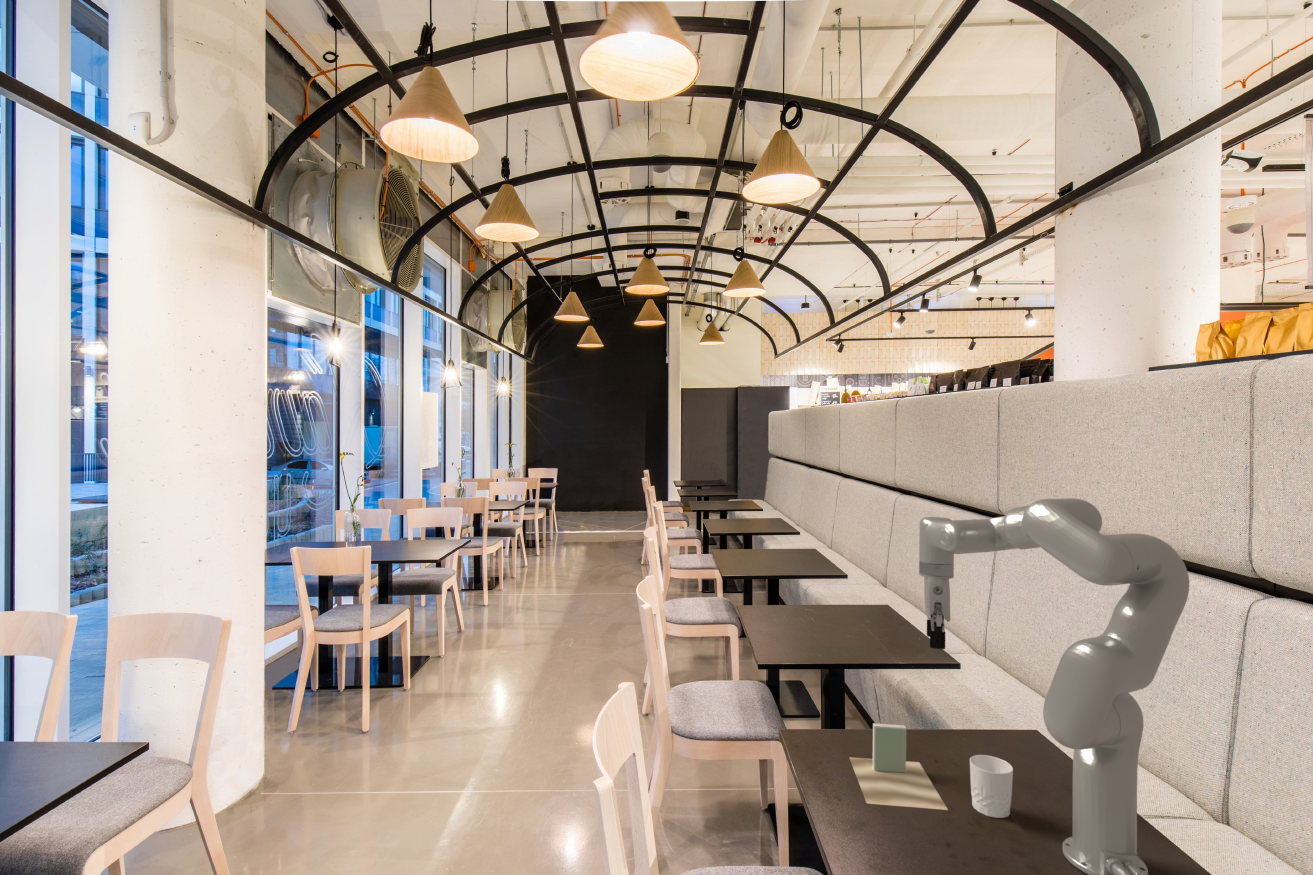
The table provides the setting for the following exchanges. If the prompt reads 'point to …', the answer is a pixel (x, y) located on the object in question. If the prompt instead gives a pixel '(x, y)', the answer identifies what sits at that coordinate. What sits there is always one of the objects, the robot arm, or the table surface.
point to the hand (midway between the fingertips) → (935, 642)
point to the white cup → (991, 785)
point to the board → (897, 786)
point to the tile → (889, 748)
